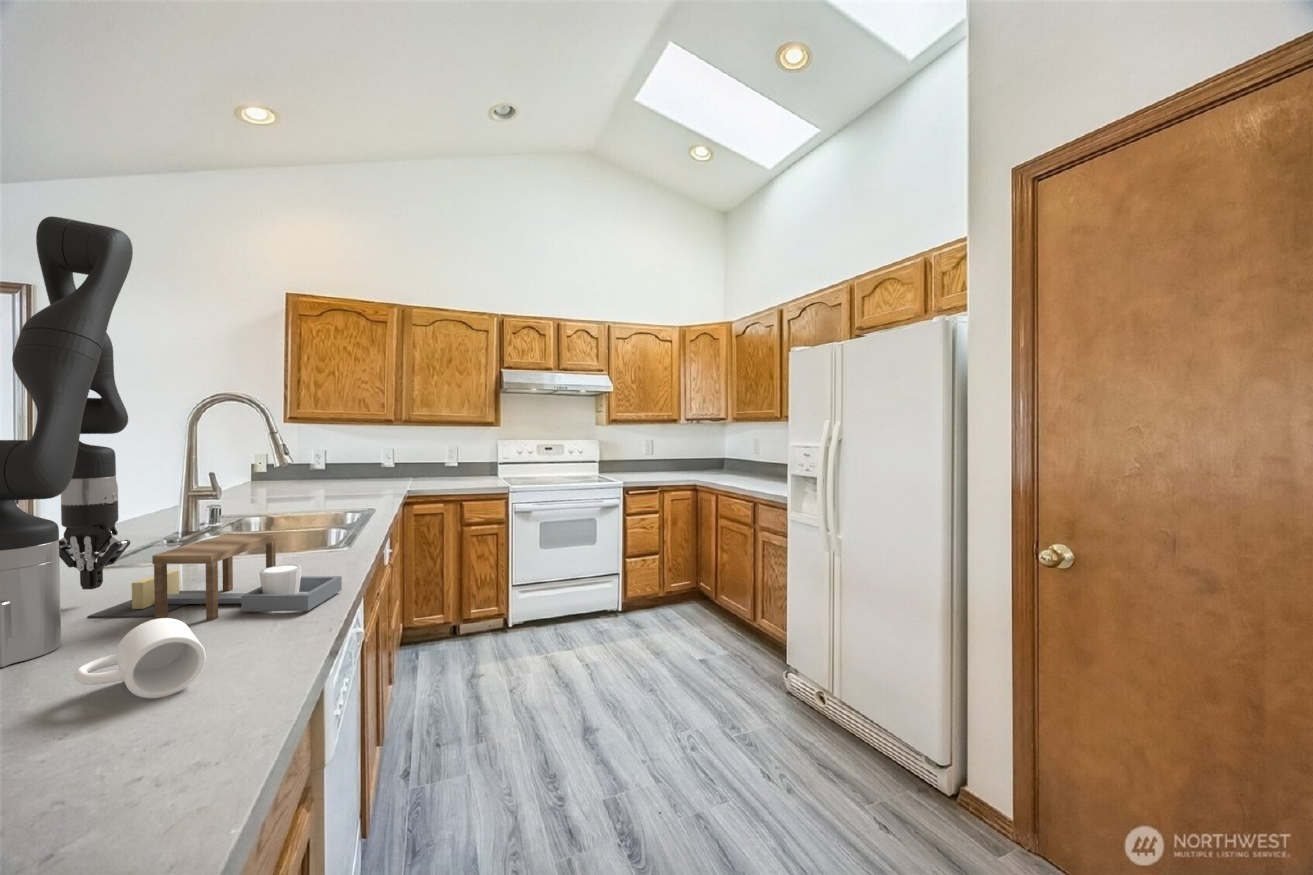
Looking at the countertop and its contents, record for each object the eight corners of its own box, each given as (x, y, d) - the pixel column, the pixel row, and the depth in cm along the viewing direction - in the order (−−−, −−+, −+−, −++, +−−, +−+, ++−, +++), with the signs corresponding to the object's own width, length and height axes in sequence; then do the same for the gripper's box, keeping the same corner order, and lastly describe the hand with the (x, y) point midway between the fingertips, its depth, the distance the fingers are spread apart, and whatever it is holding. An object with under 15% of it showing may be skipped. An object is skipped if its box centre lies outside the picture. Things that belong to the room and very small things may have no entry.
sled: (308, 610, 99) (307, 584, 98) (122, 612, 96) (121, 586, 96) (341, 590, 110) (341, 566, 110) (176, 591, 108) (176, 567, 108)
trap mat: (157, 617, 96) (157, 615, 96) (87, 617, 95) (87, 616, 95) (215, 591, 110) (215, 590, 110) (155, 592, 109) (155, 590, 109)
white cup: (310, 598, 107) (310, 564, 107) (282, 610, 100) (282, 574, 100) (280, 596, 108) (279, 563, 107) (250, 608, 101) (250, 572, 101)
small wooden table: (211, 620, 94) (211, 555, 94) (153, 621, 94) (152, 555, 93) (276, 588, 112) (276, 533, 112) (228, 588, 112) (227, 533, 111)
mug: (192, 663, 79) (191, 611, 78) (206, 685, 72) (205, 629, 72) (73, 694, 69) (71, 635, 69) (78, 723, 63) (76, 658, 63)
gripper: (31, 503, 96) (33, 595, 97) (107, 503, 97) (108, 594, 98) (74, 497, 104) (75, 582, 105) (144, 497, 105) (145, 582, 105)
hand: (91, 588), depth 101 cm, fingers closed
